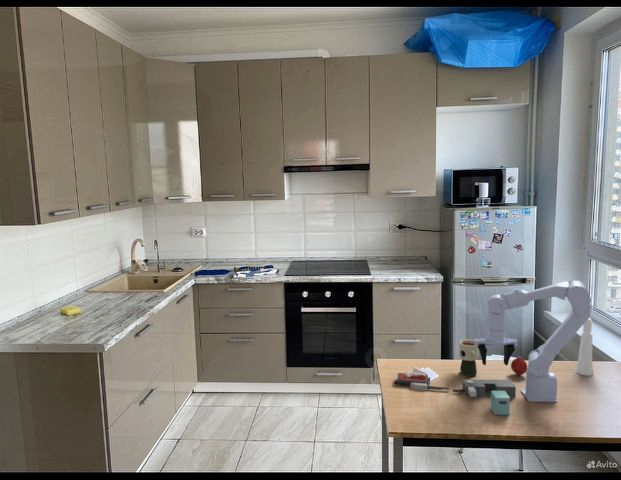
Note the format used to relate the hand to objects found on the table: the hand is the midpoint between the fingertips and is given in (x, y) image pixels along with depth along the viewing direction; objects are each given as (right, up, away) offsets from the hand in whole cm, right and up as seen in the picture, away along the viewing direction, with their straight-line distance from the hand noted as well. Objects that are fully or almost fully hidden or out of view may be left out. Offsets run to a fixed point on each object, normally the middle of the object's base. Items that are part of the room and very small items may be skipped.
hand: (494, 364), depth 168 cm
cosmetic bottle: (+40, -7, +13) cm, 43 cm away
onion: (+14, -8, +12) cm, 20 cm away
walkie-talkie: (-25, -10, +7) cm, 28 cm away
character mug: (-5, -8, +15) cm, 17 cm away
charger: (-4, -12, -14) cm, 19 cm away
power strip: (-5, -10, -1) cm, 11 cm away
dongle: (-10, -9, -5) cm, 14 cm away
